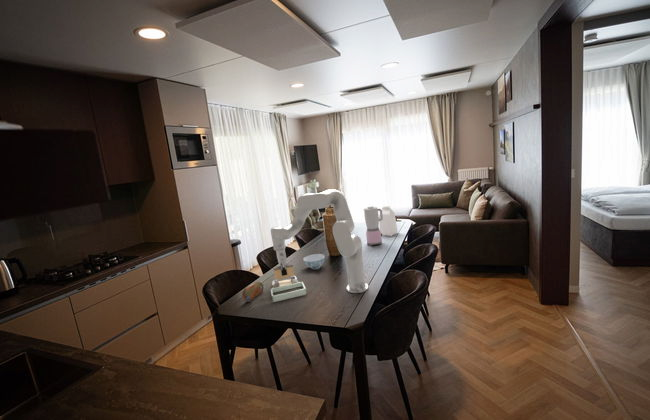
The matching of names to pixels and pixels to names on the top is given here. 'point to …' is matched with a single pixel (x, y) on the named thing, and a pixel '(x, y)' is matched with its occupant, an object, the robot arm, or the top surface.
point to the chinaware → (314, 261)
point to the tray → (288, 294)
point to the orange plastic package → (252, 291)
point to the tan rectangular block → (279, 274)
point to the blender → (373, 225)
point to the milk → (388, 222)
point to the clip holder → (284, 282)
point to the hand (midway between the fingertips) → (284, 274)
